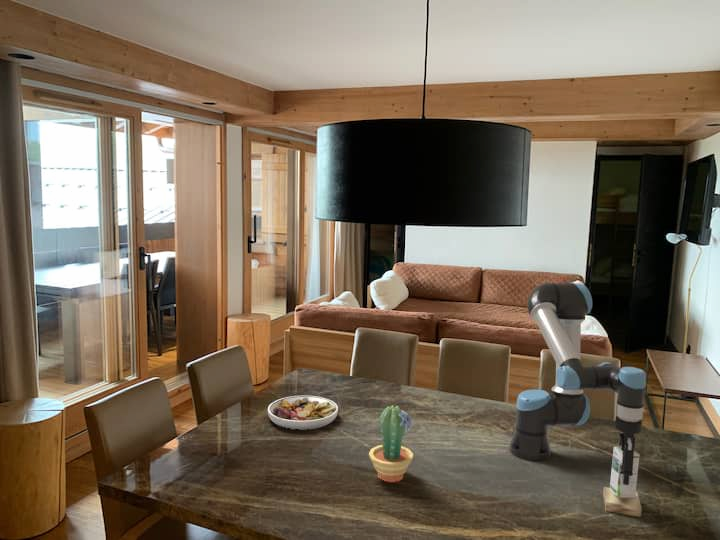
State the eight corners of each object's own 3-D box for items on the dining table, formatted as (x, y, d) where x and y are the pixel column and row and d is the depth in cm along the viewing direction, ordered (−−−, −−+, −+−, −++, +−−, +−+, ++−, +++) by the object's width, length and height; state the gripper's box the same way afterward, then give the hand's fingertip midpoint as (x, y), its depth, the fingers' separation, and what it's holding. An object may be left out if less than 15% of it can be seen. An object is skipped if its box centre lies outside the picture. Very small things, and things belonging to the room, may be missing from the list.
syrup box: (608, 488, 185) (612, 446, 183) (626, 488, 185) (630, 445, 183) (618, 498, 179) (622, 454, 177) (636, 497, 179) (640, 453, 177)
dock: (605, 511, 179) (606, 502, 179) (602, 495, 189) (603, 486, 188) (640, 517, 176) (641, 508, 176) (636, 501, 186) (637, 492, 185)
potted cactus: (384, 491, 188) (386, 418, 185) (359, 471, 201) (361, 403, 198) (421, 479, 196) (424, 409, 193) (395, 461, 209) (397, 395, 206)
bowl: (300, 401, 269) (300, 384, 268) (351, 416, 251) (352, 399, 250) (253, 420, 245) (253, 402, 244) (306, 439, 227) (306, 420, 226)
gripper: (647, 431, 168) (640, 505, 171) (637, 408, 187) (631, 474, 190) (619, 428, 170) (613, 500, 173) (612, 404, 189) (607, 470, 192)
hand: (623, 486), depth 182 cm, fingers closed on syrup box, 7 cm apart
